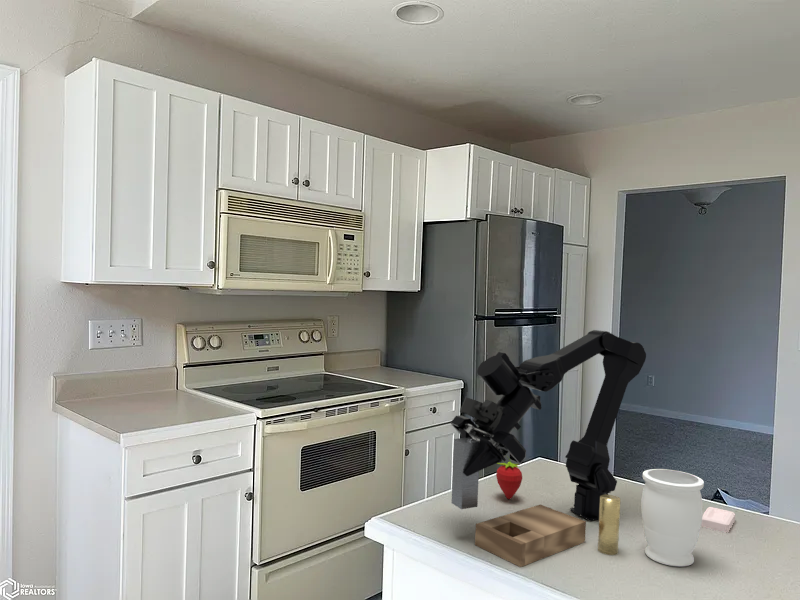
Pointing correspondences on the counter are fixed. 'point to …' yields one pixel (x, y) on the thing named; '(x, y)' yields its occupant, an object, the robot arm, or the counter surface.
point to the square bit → (462, 484)
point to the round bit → (609, 524)
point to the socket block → (530, 534)
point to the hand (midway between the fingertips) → (459, 471)
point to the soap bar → (718, 519)
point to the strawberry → (509, 478)
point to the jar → (671, 515)
